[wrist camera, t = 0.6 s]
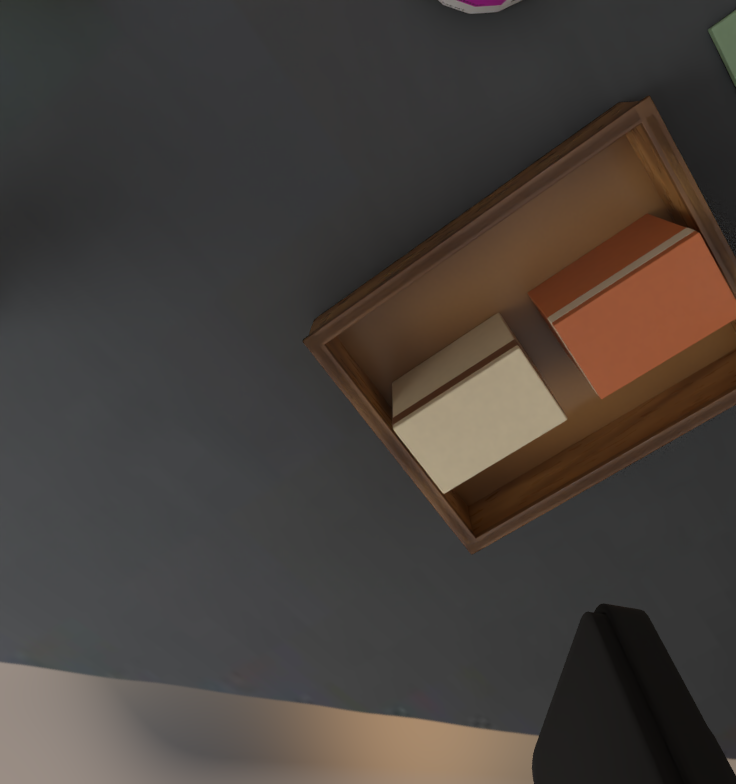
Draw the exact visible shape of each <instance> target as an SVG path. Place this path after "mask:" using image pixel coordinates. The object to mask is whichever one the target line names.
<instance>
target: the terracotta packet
mask: <svg viewBox="0 0 736 784" xmlns="http://www.w3.org/2000/svg"><path fill="white" fill-rule="evenodd" d="M528 295H529V297H530V298H531V300H532V301H533V303H534V304H535V306H536V307H537V309H538V311H539V312H540V314H541V315H542V317H543V318H544V320H545V321H546V323H547V324H548V326H549V327H550V329H551V331H552V332H553V334H554V335H555V337H556V338H557V340H558V341H559V343H560V344H561V346H562V347H563V349H564V350H565V352H566V354H567V355H568V357H569V358H570V359H571V360H572V362H573V363H574V364H575V366H576V367H577V368H578V370H579V371H580V372H581V373H582V375H583V376H584V377H585V379H586V380H587V381H588V383H589V384H590V385H591V387H592V388H593V390H594V391H595V392H596V394H597V395H598V396H599V397H600V398H601V399H603V398H605V397H607V396H608V395H610V394H612V393H613V392H615V391H617V390H618V389H620V388H622V387H623V386H625V385H627V384H628V383H630V382H632V381H633V380H635V379H637V378H638V377H640V376H642V375H643V374H645V373H647V372H648V371H650V370H652V369H653V368H655V367H657V366H658V365H660V364H662V363H663V362H665V361H667V360H668V359H670V358H672V357H673V356H675V355H677V354H678V353H680V352H682V351H683V350H685V349H687V348H688V347H690V346H692V345H693V344H695V343H697V342H698V341H700V340H702V339H703V338H705V337H706V336H708V335H710V334H711V333H713V332H715V331H716V330H718V329H720V328H721V327H723V326H725V325H726V324H728V323H730V322H731V321H733V320H735V319H736V299H735V297H734V295H733V293H732V292H731V290H730V288H729V286H728V284H727V282H726V281H725V279H724V277H723V275H722V273H721V271H720V269H719V268H718V266H717V264H716V262H715V260H714V258H713V257H712V255H711V253H710V251H709V249H708V247H707V245H706V244H705V242H704V240H703V238H702V236H701V234H700V233H699V232H696V231H695V230H693V229H690V228H686V227H683V226H680V225H677V224H675V223H672V222H669V221H666V220H664V219H661V218H658V217H655V216H653V215H650V214H646V215H644V216H643V217H641V218H640V219H638V220H637V221H635V222H634V223H632V224H631V225H629V226H628V227H626V228H625V229H623V230H622V231H620V232H619V233H617V234H616V235H614V236H613V237H611V238H609V239H608V240H606V241H605V242H603V243H602V244H600V245H599V246H597V247H596V248H594V249H593V250H591V251H590V252H588V253H587V254H585V255H584V256H582V257H581V258H579V259H578V260H576V261H575V262H573V263H572V264H570V265H569V266H567V267H566V268H564V269H563V270H561V271H560V272H558V273H557V274H555V275H554V276H552V277H551V278H549V279H548V280H546V281H545V282H543V283H542V284H540V285H539V286H537V287H536V288H534V289H533V290H531V291H529V292H528Z"/></svg>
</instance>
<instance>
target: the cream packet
mask: <svg viewBox="0 0 736 784" xmlns="http://www.w3.org/2000/svg"><path fill="white" fill-rule="evenodd" d="M392 403H393V418H392V426H393V430H394V431H395V433H396V434H397V435H398V436H399V438H400V439H401V440H402V442H403V443H404V444H405V445H406V447H407V448H408V449H409V451H410V452H411V453H412V454H413V456H414V457H415V458H416V459H417V461H418V462H419V463H420V465H421V466H422V467H423V468H424V470H425V471H426V472H427V474H428V475H429V476H430V477H431V479H432V480H433V481H434V483H435V484H436V485H437V486H438V488H439V489H440V490H441V492H442V493H444V494H445V493H446V492H448V491H450V490H451V489H453V488H455V487H456V486H458V485H460V484H461V483H463V482H465V481H466V480H468V479H470V478H471V477H473V476H475V475H476V474H478V473H480V472H481V471H483V470H485V469H486V468H488V467H490V466H491V465H493V464H495V463H496V462H498V461H500V460H501V459H503V458H505V457H506V456H508V455H510V454H511V453H513V452H515V451H516V450H518V449H520V448H521V447H523V446H525V445H526V444H528V443H530V442H531V441H533V440H535V439H536V438H538V437H540V436H541V435H543V434H545V433H546V432H548V431H550V430H551V429H553V428H555V427H556V426H558V425H560V424H561V423H563V422H565V421H566V420H567V417H566V414H565V413H564V411H563V409H562V408H561V406H560V405H559V403H558V402H557V400H556V399H555V397H554V395H553V394H552V392H551V390H550V389H549V387H548V386H547V384H546V382H545V381H544V379H543V377H542V376H541V374H540V372H539V371H538V370H537V368H536V367H535V365H534V364H533V362H532V361H531V359H530V358H529V356H528V355H527V353H526V352H525V350H524V349H523V347H522V346H521V344H520V343H519V341H518V340H517V338H516V337H515V335H514V334H513V332H512V331H511V329H510V328H509V326H508V325H507V323H506V322H505V321H504V319H503V318H502V316H501V315H500V313H497V314H495V315H494V316H492V317H491V318H489V319H488V320H486V321H485V322H483V323H482V324H480V325H479V326H477V327H475V328H474V329H472V330H471V331H469V332H468V333H466V334H465V335H463V336H462V337H460V338H459V339H457V340H456V341H454V342H453V343H451V344H450V345H448V346H447V347H445V348H444V349H442V350H441V351H439V352H438V353H436V354H435V355H433V356H432V357H430V358H429V359H427V360H426V361H424V362H423V363H421V364H420V365H418V366H417V367H415V368H414V369H412V370H411V371H409V372H408V373H406V374H405V375H403V376H402V377H400V378H398V379H397V380H395V381H394V382H393V383H392Z"/></svg>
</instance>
